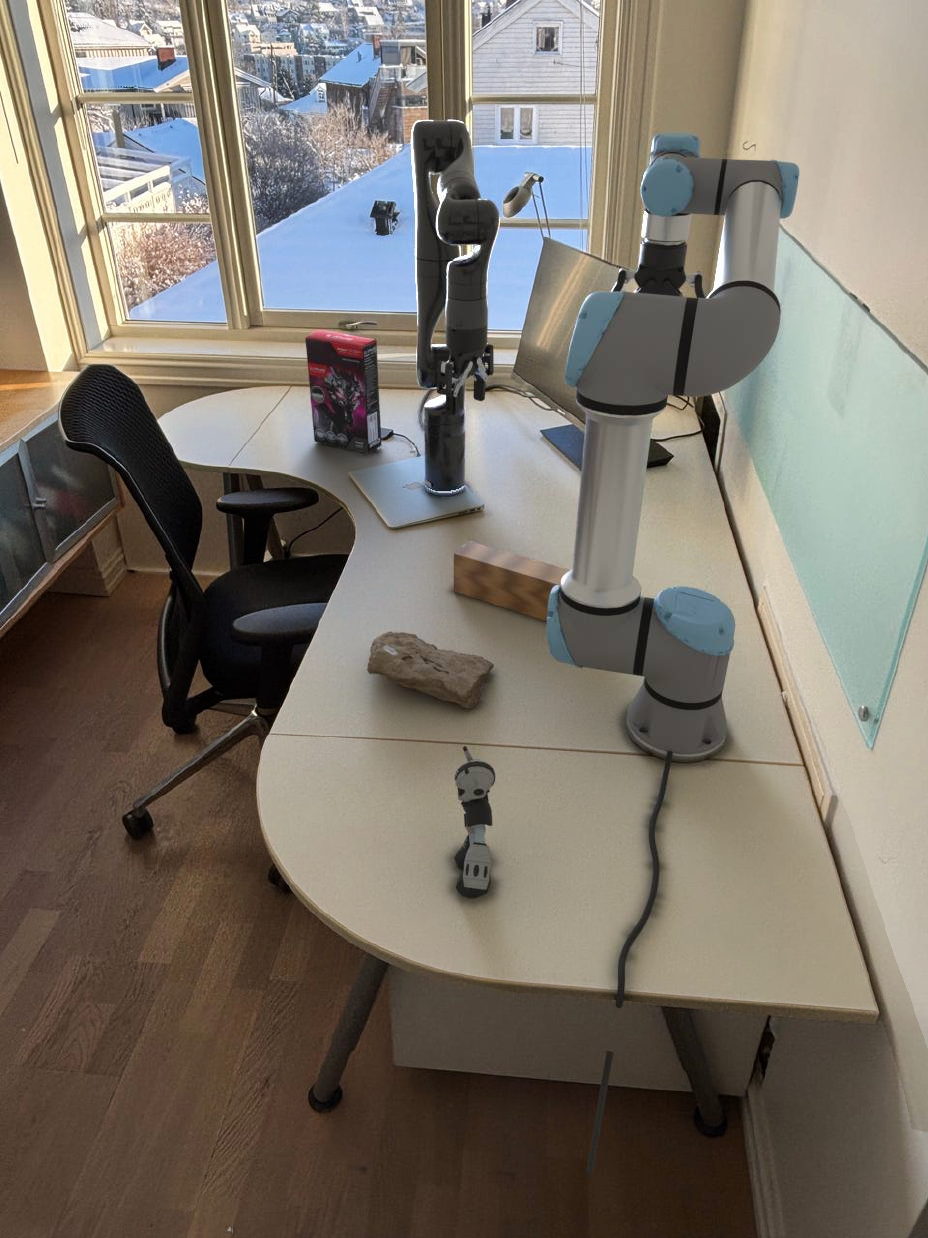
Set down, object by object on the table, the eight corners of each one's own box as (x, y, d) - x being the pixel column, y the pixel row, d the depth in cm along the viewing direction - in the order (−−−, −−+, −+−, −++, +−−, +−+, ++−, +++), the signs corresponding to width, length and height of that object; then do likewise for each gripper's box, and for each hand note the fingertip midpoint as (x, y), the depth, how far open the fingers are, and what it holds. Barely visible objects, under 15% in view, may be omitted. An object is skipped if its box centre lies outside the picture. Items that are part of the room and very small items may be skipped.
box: (584, 614, 170) (587, 574, 166) (570, 629, 166) (574, 589, 161) (468, 578, 180) (469, 540, 176) (453, 591, 176) (453, 553, 172)
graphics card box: (312, 442, 234) (302, 335, 219) (327, 433, 240) (319, 327, 224) (368, 456, 228) (362, 346, 213) (383, 446, 233) (379, 338, 218)
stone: (342, 681, 147) (349, 648, 145) (376, 648, 161) (382, 617, 158) (465, 726, 144) (475, 692, 141) (489, 688, 157) (498, 657, 155)
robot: (497, 935, 111) (502, 818, 100) (457, 937, 111) (458, 819, 100) (486, 816, 127) (489, 703, 116) (451, 817, 127) (451, 704, 116)
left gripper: (473, 306, 170) (472, 390, 180) (425, 326, 161) (426, 414, 170) (506, 314, 167) (503, 400, 176) (459, 335, 157) (458, 424, 167)
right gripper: (741, 239, 152) (720, 366, 163) (589, 231, 156) (580, 356, 167) (744, 248, 145) (722, 380, 157) (586, 240, 149) (576, 369, 161)
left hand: (465, 406), depth 173 cm, fingers open, 8 cm apart
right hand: (648, 368), depth 162 cm, fingers open, 13 cm apart
